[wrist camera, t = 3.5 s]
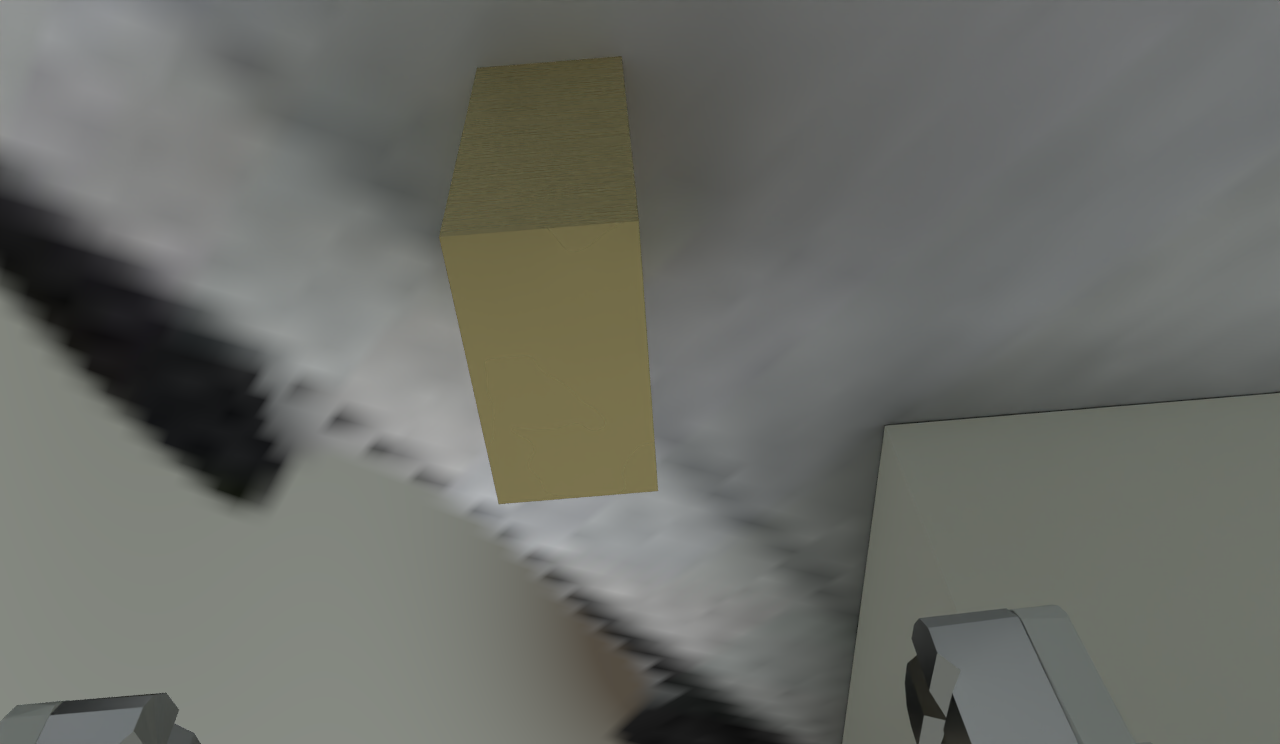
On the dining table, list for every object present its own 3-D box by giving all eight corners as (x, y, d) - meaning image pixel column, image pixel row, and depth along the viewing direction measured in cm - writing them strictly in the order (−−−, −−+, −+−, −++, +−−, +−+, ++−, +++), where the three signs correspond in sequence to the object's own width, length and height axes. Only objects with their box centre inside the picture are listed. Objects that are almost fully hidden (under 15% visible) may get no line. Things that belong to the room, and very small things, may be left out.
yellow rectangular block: (476, 67, 17) (438, 236, 12) (621, 56, 17) (638, 221, 12) (516, 298, 20) (498, 503, 15) (638, 288, 20) (658, 491, 15)
